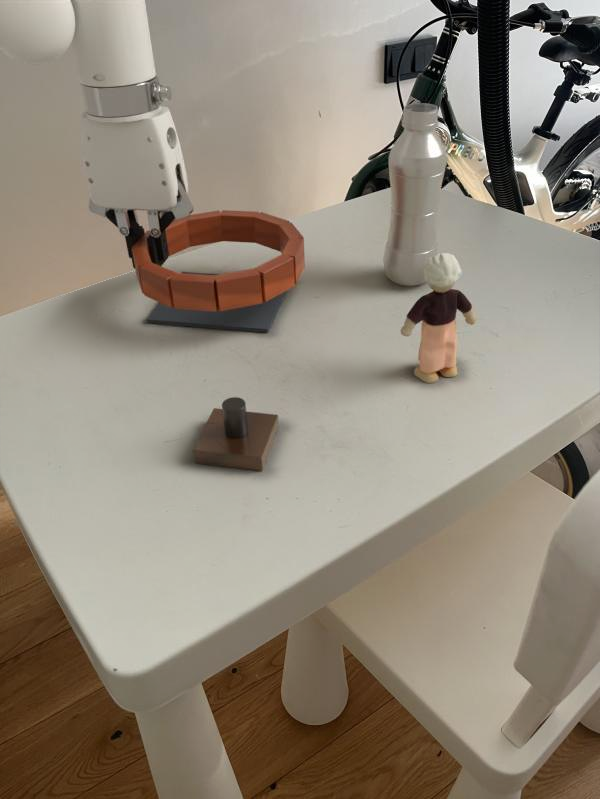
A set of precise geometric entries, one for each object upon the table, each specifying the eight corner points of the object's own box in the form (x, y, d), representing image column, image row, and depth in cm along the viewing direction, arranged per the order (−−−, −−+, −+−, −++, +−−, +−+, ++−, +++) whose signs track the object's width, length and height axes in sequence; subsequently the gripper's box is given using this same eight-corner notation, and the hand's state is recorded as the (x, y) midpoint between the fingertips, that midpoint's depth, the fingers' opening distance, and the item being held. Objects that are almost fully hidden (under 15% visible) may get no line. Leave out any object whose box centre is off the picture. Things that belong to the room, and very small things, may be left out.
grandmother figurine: (449, 353, 76) (461, 237, 68) (474, 370, 73) (490, 252, 65) (389, 376, 73) (395, 258, 65) (413, 395, 70) (422, 274, 62)
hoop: (112, 304, 78) (105, 275, 76) (171, 233, 93) (168, 207, 91) (282, 316, 75) (280, 286, 73) (316, 240, 89) (315, 213, 87)
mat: (147, 323, 83) (146, 319, 82) (182, 275, 92) (182, 271, 92) (267, 333, 80) (267, 329, 80) (291, 282, 89) (291, 279, 89)
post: (194, 463, 63) (188, 421, 60) (215, 420, 68) (210, 380, 65) (262, 471, 62) (259, 429, 59) (278, 427, 66) (276, 387, 64)
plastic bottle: (372, 284, 88) (378, 111, 77) (398, 262, 93) (407, 96, 81) (421, 297, 85) (434, 119, 74) (445, 274, 90) (462, 103, 78)
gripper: (206, 89, 76) (224, 254, 87) (67, 87, 79) (101, 247, 90) (182, 109, 70) (205, 283, 81) (32, 106, 73) (73, 275, 84)
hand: (150, 263), depth 85 cm, fingers closed on hoop, 1 cm apart
